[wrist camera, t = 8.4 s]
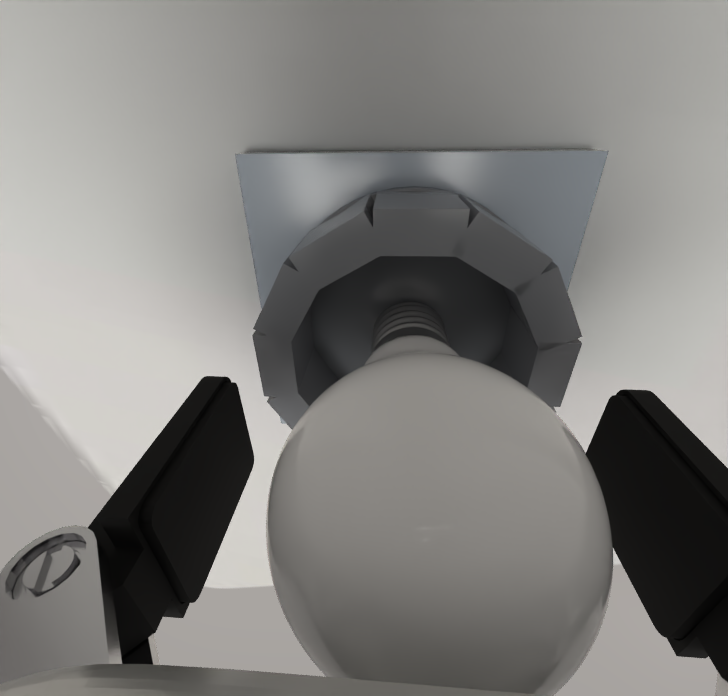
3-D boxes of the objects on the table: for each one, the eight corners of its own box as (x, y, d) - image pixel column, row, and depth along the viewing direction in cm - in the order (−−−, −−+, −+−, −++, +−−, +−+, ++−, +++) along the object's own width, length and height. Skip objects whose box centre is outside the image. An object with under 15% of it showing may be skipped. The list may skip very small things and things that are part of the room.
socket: (245, 152, 13) (177, 163, 9) (593, 149, 12) (694, 159, 8) (286, 410, 19) (257, 486, 15) (519, 418, 18) (555, 502, 14)
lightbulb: (334, 391, 16) (260, 766, 7) (316, 247, 13) (122, 598, 3) (481, 390, 16) (622, 792, 6) (503, 240, 12) (879, 625, 3)
